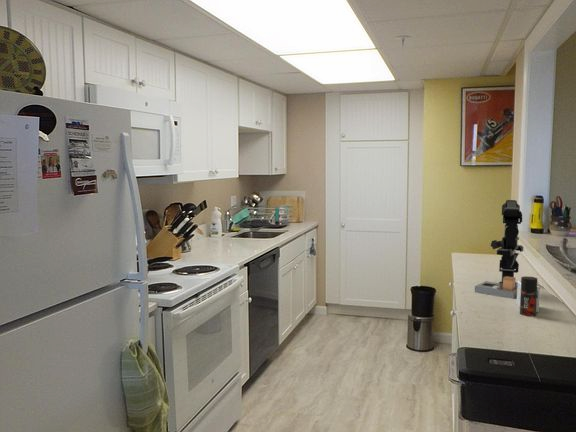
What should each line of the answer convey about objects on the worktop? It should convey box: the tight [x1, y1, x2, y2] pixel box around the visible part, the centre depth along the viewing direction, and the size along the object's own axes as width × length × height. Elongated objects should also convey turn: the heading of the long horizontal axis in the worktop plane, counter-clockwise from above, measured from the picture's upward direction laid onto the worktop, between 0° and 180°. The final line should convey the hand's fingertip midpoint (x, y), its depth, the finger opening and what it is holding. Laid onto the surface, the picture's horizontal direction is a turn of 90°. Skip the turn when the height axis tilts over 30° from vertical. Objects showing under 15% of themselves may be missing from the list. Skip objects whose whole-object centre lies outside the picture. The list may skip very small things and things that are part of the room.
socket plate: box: [474, 280, 517, 299], centre depth 245 cm, size 14×18×4 cm
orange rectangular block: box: [503, 276, 516, 290], centre depth 242 cm, size 4×4×8 cm
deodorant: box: [519, 276, 538, 317], centre depth 208 cm, size 6×6×15 cm
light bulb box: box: [516, 280, 541, 313], centre depth 217 cm, size 11×7×11 cm, turn 168°
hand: (509, 268), depth 241 cm, fingers closed
